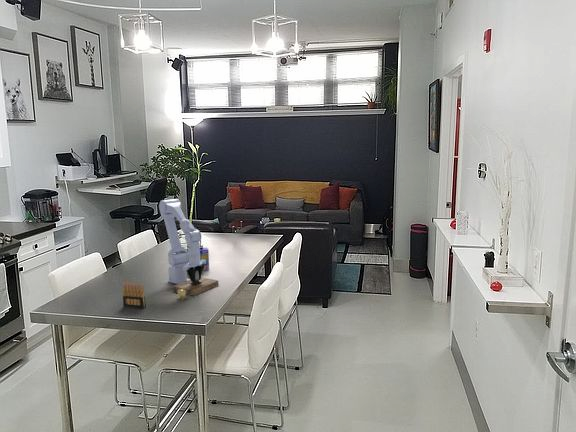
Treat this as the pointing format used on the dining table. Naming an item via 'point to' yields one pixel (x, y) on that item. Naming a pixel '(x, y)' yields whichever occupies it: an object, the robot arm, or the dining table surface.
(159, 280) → the dining table surface
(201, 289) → the hole board
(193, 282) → the tall pin
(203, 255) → the ink cartridge box
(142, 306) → the ammunition clip
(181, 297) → the short pin
